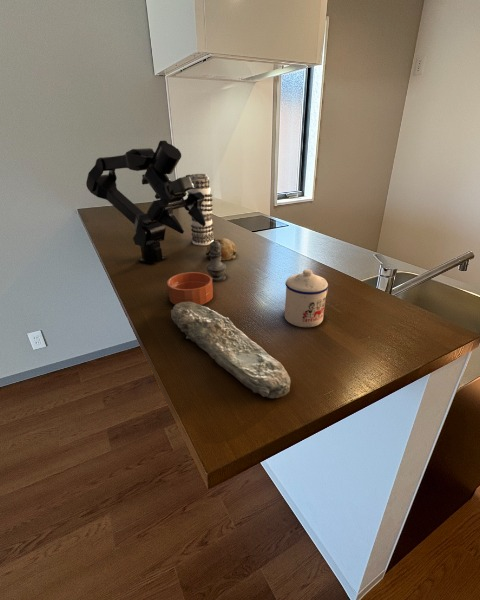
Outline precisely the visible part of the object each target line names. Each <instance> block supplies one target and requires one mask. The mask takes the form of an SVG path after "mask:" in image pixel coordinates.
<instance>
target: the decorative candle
mask: <svg viewBox="0 0 480 600" xmlns="http://www.w3.org/2000/svg"><path fill="white" fill-rule="evenodd" d="M190 175H191V176H192V177H193V178H194V179H195V185H194V188H193V189H190V190H188V191H186V193H187V194H186V196H187V197H188V196H189V194H190V193H194V192H201V193H202V194H203V196H204V197H205V198H204V200H203V202H202V204H201V209H202V213H203V217H204V220H205V223H206V225H205V226H202V225H201V224H199V223H198V222H197V221H196V220H195V219H194V218H193V217H192V216H190V217H191V221H190V222H191V224H190V227H191V229H190V231H191V233H190V234H191V240H192V244H193V245H196V246H209V245H210V243H211V242H213V241H214V238H215V237H214V235H215V233H214V227H213V226H214V224H213V219H212V213H213V210H214V209H213V208H212V207H213V206H214V205H213V204H212V203H211V202H213V200H214V199H213V198H212V197H213V194H212V193H211V186H210V185H211V184H210V180H211V178H210V177H209V176H208V174H206V173H192V174H190Z"/></svg>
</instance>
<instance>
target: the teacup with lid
mask: <svg viewBox="0 0 480 600" xmlns="http://www.w3.org/2000/svg"><path fill="white" fill-rule="evenodd" d="M284 284H285V287H286V288H285V300H284V301H285V302H284V303H285V304H284V318H285V320H286V321H287V322H288V324H290V325H293V326H296V327H298V328H299V327H300V328H313V327H316V326H319V325H321V323H322V322H323V320H324V315H325V314H324V313H325V306H326V298H327V294H328V290H329V284H328V281H327V280H326V278H324V277H322V276H320V275H317V274H314V273H313V270H312V269H308V268H307V269H303V271H302V272H300V273H297V274H293V275H290V276H288V278H287V279H286V280H285V283H284Z"/></svg>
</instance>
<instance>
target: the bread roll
mask: <svg viewBox="0 0 480 600" xmlns="http://www.w3.org/2000/svg"><path fill="white" fill-rule="evenodd" d="M216 241H217V242H219V243H220V253H222V255H221V261H229V260H233V259H235V258H236V255H237V247H236V244H235V243H234V242H233V241H232V240H229V239H228V238H220V237H219V238H217V239H216ZM210 253H211V252H210V244H209V245H207V246H206V250H205V255H206V256H208V258H209V259H210V260H211V257H210V255H209V254H210Z"/></svg>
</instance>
